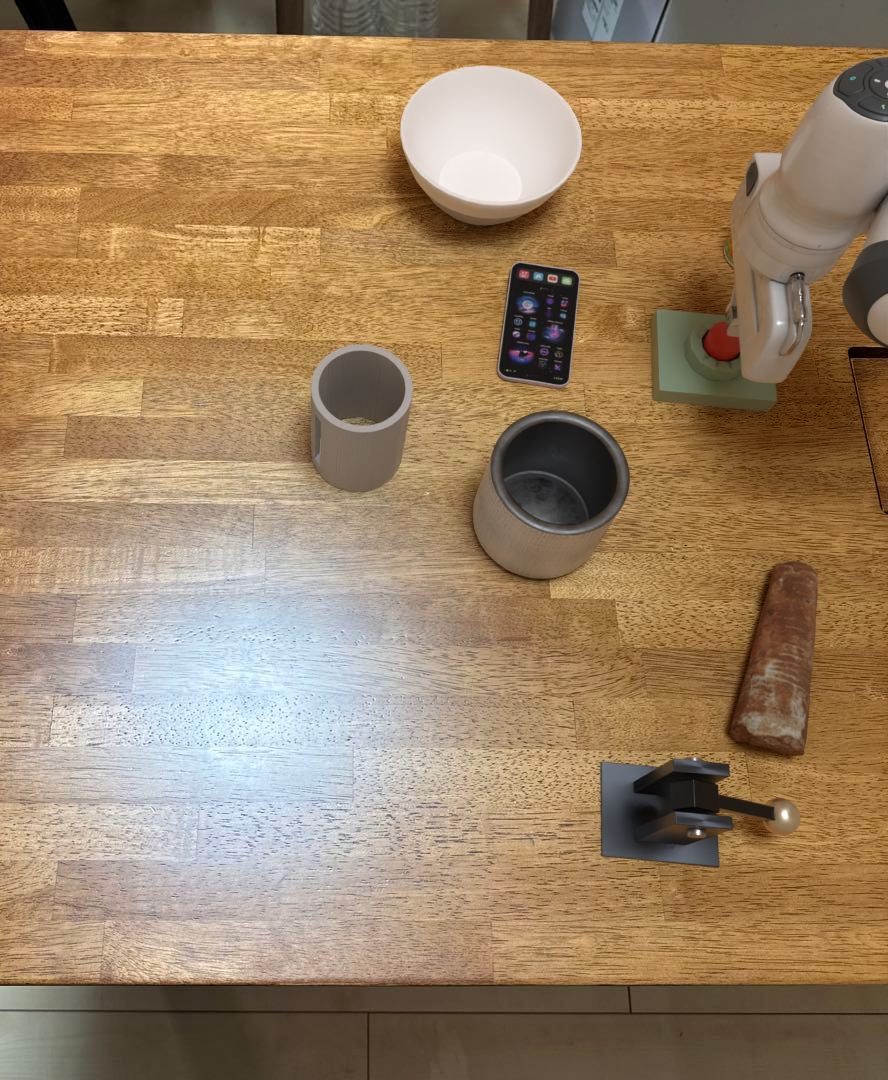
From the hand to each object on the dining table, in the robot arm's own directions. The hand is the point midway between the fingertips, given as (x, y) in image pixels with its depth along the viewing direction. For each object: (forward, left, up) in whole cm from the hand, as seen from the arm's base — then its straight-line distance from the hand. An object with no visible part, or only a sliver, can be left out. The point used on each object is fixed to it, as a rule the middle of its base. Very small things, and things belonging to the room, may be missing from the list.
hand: (733, 324), depth 100 cm
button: (0, 0, -4) cm, 4 cm away
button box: (0, 0, -7) cm, 7 cm away
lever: (+3, +47, -1) cm, 47 cm away
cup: (+36, +14, -8) cm, 39 cm away
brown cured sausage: (-4, +32, -8) cm, 33 cm away
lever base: (+7, +47, -7) cm, 48 cm away
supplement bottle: (-5, -15, -8) cm, 18 cm away
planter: (+18, +20, -8) cm, 28 cm away
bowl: (+25, -21, -8) cm, 33 cm away
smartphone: (+18, -3, -7) cm, 20 cm away
